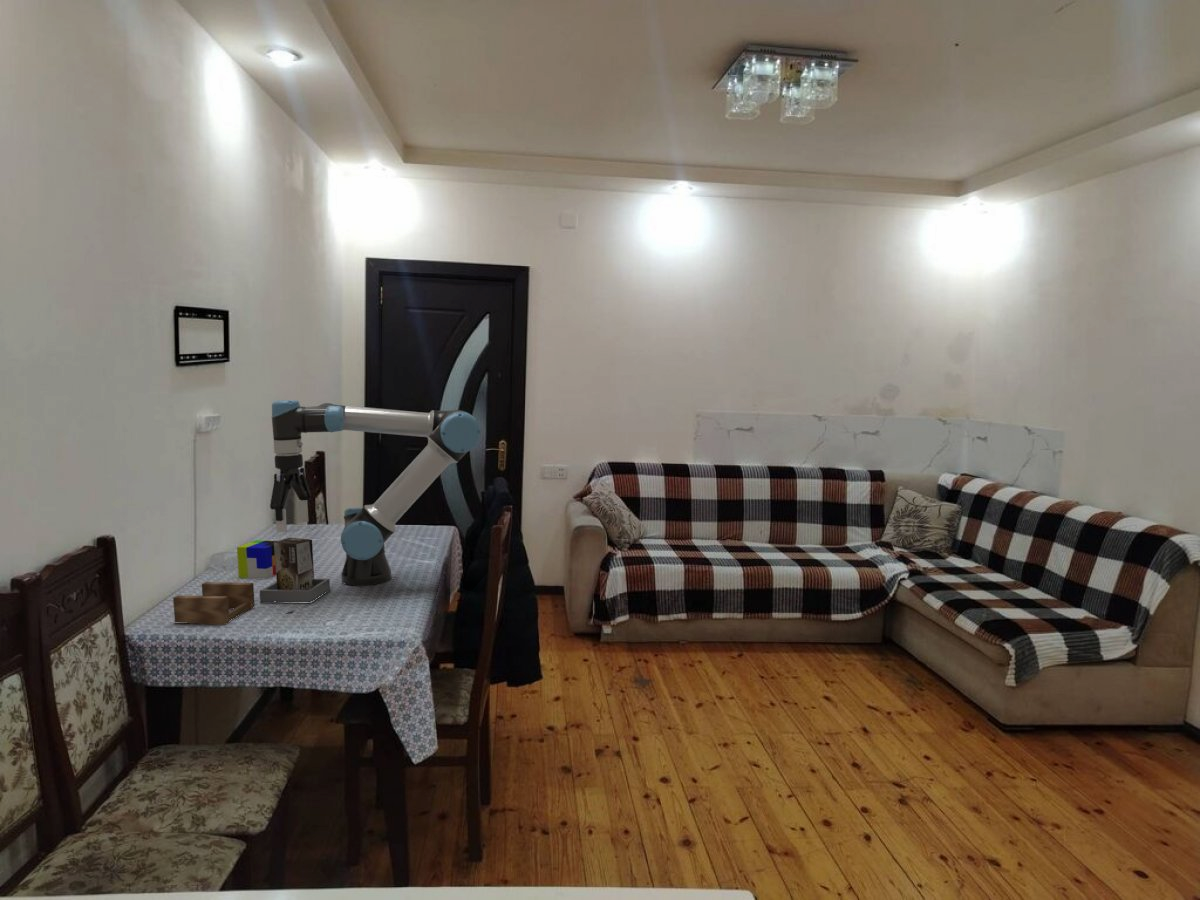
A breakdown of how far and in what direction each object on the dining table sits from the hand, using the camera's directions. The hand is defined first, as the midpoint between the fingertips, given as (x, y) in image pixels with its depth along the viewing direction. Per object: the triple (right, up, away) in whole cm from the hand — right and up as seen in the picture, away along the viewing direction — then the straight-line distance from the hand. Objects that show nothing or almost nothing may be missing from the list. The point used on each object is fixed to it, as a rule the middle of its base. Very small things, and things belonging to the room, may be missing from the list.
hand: (293, 526), depth 235 cm
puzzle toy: (-21, -18, +28) cm, 39 cm away
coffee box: (0, -20, +2) cm, 20 cm away
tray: (0, -21, +2) cm, 21 cm away
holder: (-16, -23, -14) cm, 31 cm away
